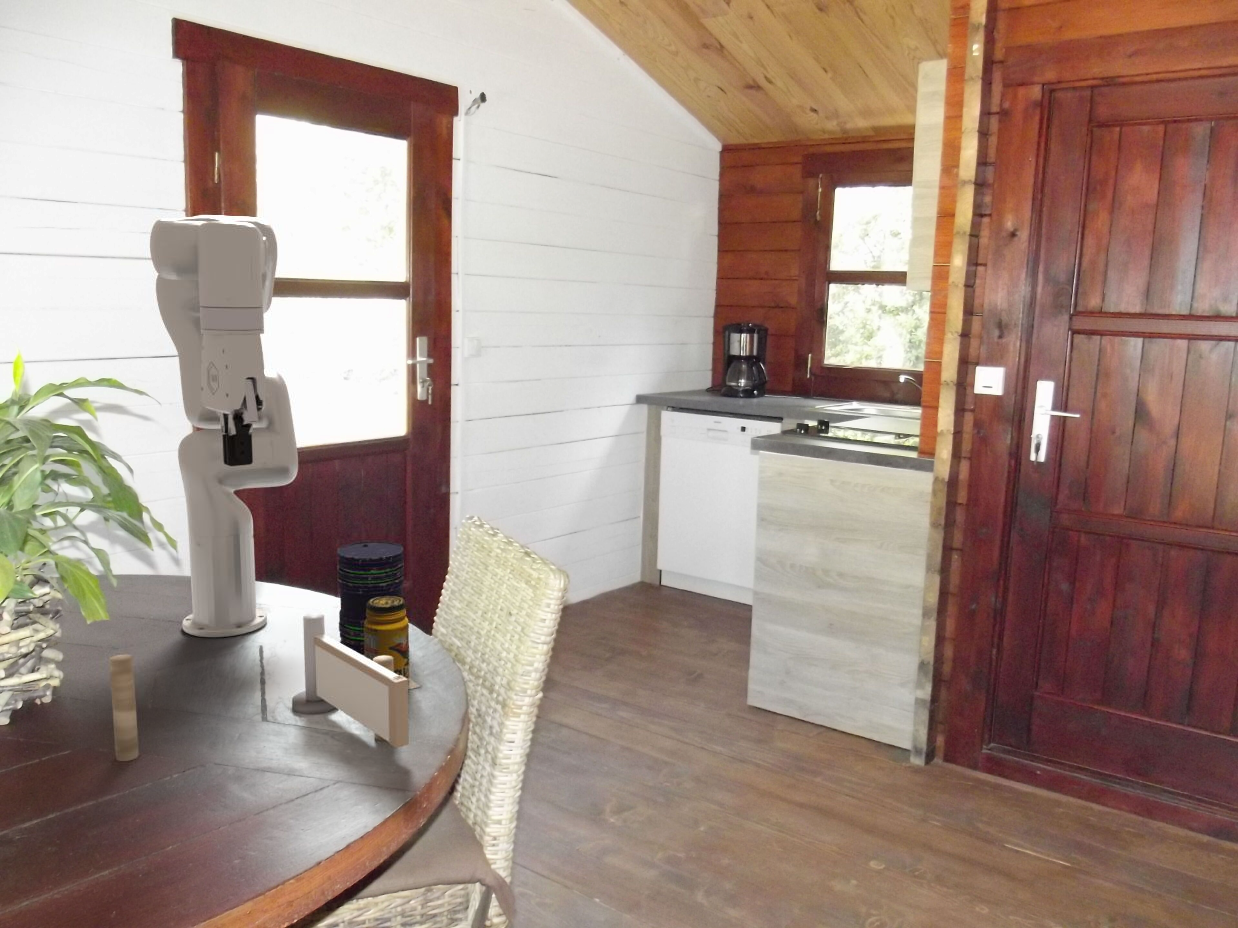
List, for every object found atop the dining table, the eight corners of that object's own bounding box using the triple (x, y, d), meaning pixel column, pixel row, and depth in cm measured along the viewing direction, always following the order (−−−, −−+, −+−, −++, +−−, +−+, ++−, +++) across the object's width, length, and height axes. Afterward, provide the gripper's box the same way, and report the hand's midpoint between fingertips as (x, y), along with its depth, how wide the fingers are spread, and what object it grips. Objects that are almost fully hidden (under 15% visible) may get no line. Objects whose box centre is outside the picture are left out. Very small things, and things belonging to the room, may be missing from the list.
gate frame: (108, 750, 121) (101, 652, 119) (329, 691, 139) (326, 606, 137) (162, 810, 107) (155, 702, 105) (398, 737, 126) (396, 643, 124)
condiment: (419, 687, 142) (418, 603, 139) (360, 700, 137) (358, 613, 135) (399, 670, 148) (398, 589, 145) (342, 681, 143) (339, 598, 141)
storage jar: (413, 649, 156) (412, 553, 153) (349, 659, 151) (346, 561, 148) (393, 629, 164) (392, 538, 162) (331, 638, 160) (329, 545, 157)
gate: (302, 696, 135) (299, 615, 133) (320, 691, 136) (318, 611, 135) (392, 756, 118) (391, 665, 116) (412, 750, 120) (411, 660, 118)
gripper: (180, 319, 133) (187, 459, 136) (226, 325, 122) (232, 476, 125) (238, 319, 138) (243, 454, 141) (286, 324, 127) (291, 470, 130)
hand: (238, 464), depth 133 cm, fingers closed
